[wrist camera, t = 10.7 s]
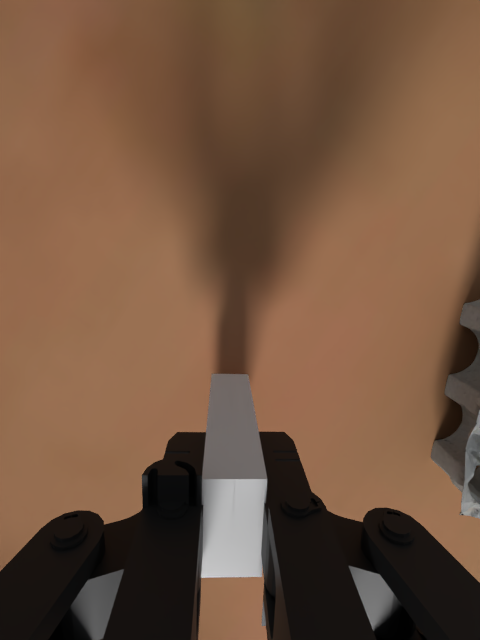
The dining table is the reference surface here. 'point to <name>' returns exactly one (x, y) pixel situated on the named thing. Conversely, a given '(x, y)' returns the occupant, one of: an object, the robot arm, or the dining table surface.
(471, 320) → the egg carton
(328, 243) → the dining table surface
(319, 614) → the robot arm
